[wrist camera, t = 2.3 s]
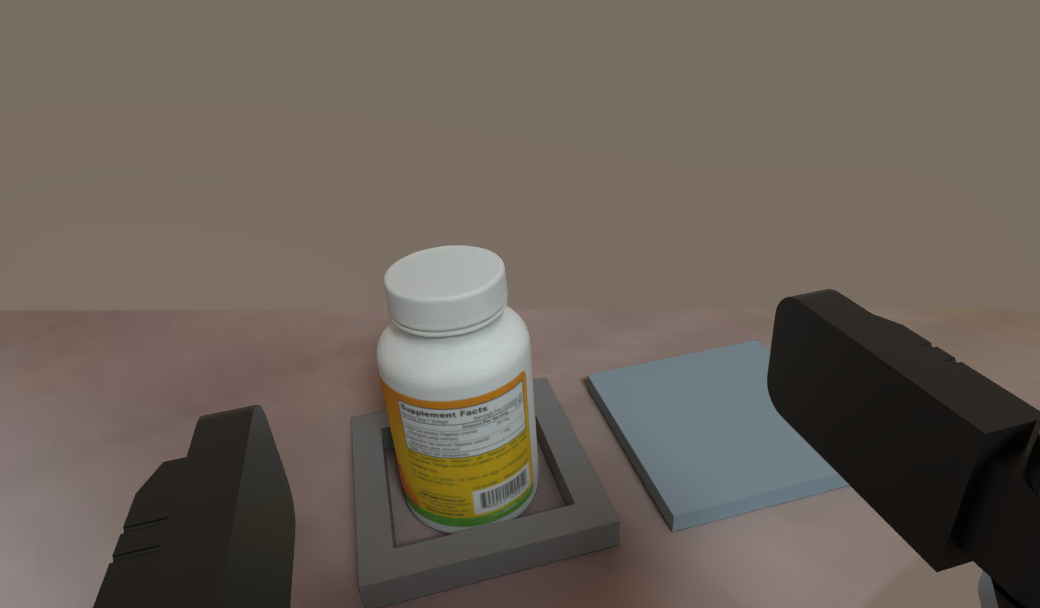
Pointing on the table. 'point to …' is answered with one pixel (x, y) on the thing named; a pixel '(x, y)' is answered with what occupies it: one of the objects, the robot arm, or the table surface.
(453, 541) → the collar
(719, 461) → the board
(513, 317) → the supplement bottle
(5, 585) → the table surface
